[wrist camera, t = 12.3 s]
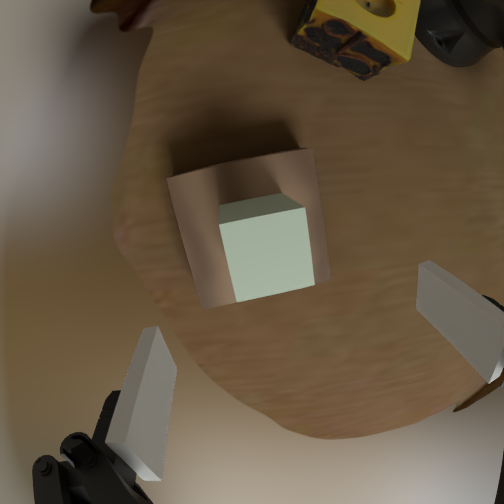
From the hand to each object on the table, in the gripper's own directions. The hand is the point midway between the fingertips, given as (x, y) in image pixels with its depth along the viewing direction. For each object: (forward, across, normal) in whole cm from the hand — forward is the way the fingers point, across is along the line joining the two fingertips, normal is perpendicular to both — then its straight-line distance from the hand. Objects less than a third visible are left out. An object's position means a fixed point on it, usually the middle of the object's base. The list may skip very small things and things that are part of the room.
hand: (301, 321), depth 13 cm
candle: (+21, -14, -21) cm, 33 cm away
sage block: (+16, 0, 0) cm, 16 cm away
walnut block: (+21, +1, 0) cm, 21 cm away
